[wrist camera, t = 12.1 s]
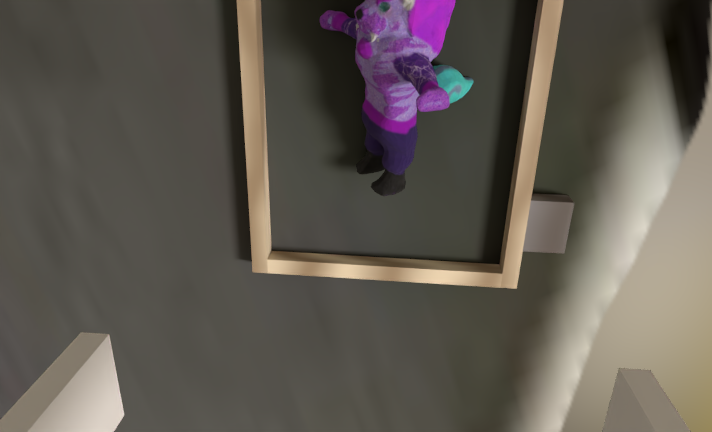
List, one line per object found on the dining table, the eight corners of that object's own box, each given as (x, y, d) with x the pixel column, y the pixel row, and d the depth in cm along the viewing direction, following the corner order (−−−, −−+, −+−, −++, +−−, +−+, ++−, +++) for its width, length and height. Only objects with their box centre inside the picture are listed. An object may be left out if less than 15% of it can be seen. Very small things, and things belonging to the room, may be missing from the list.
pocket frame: (257, 263, 44) (252, 272, 42) (240, -43, 35) (234, -45, 33) (551, 281, 42) (556, 291, 41) (612, -35, 33) (621, -36, 32)
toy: (298, 144, 40) (315, -77, 31) (405, 127, 45) (448, -72, 36) (378, 245, 33) (432, -9, 23) (497, 212, 37) (583, -13, 28)
